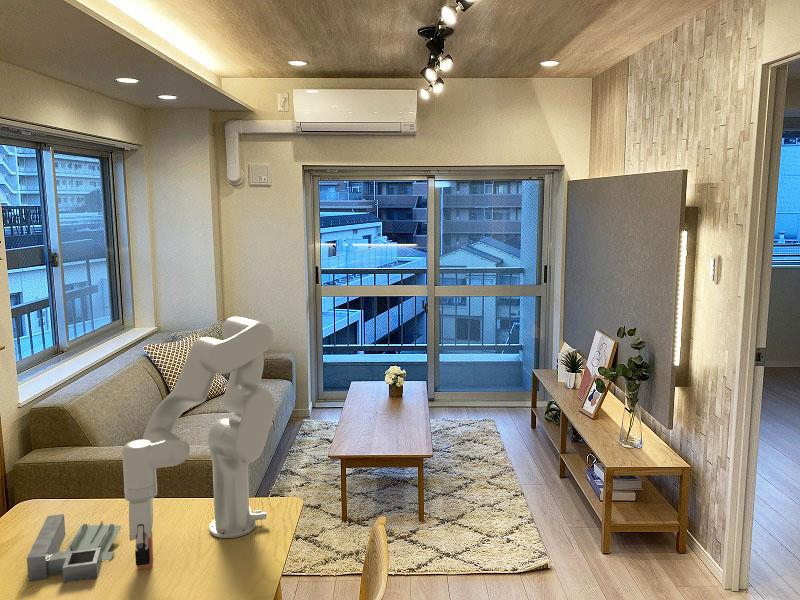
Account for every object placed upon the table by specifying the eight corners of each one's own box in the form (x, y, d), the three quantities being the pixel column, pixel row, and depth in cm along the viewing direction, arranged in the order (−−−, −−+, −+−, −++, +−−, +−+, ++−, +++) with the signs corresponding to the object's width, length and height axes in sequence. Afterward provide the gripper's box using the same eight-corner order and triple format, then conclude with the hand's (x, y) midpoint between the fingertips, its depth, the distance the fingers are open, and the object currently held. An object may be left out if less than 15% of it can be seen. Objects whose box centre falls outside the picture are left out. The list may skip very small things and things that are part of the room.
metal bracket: (74, 517, 177) (128, 518, 177) (78, 533, 179) (132, 534, 179) (48, 559, 164) (106, 559, 164) (53, 575, 166) (111, 576, 166)
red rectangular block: (153, 559, 167) (151, 523, 165) (152, 566, 163) (150, 530, 162) (138, 561, 166) (136, 525, 164) (137, 569, 162) (135, 532, 161)
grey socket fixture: (111, 528, 182) (110, 508, 181) (97, 578, 158) (95, 555, 157) (49, 536, 178) (47, 515, 177) (25, 588, 154) (23, 565, 153)
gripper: (128, 477, 168) (132, 540, 171) (120, 507, 152) (124, 576, 155) (159, 474, 171) (162, 536, 173) (154, 503, 154) (157, 571, 157)
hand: (144, 554), depth 164 cm, fingers open, 8 cm apart
